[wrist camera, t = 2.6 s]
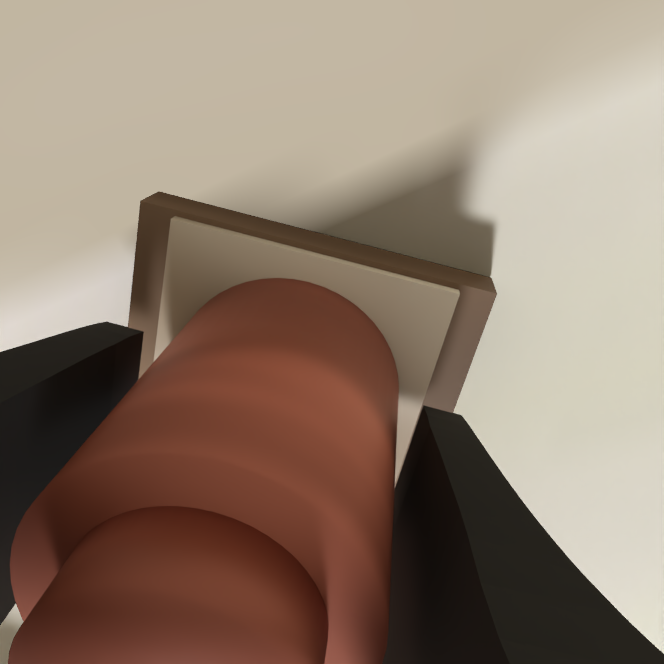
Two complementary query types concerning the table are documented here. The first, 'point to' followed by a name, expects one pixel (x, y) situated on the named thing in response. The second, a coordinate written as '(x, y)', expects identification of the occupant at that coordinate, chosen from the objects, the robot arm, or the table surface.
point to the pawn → (226, 498)
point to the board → (318, 268)
